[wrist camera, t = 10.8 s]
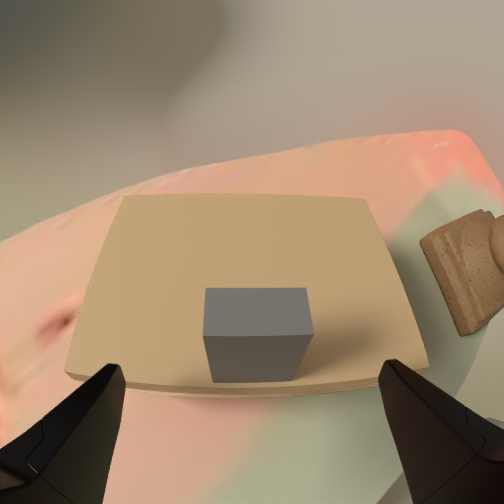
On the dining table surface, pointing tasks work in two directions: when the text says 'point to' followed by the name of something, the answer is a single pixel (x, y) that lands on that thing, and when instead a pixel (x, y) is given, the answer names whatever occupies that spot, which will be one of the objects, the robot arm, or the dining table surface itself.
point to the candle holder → (469, 267)
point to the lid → (244, 297)
